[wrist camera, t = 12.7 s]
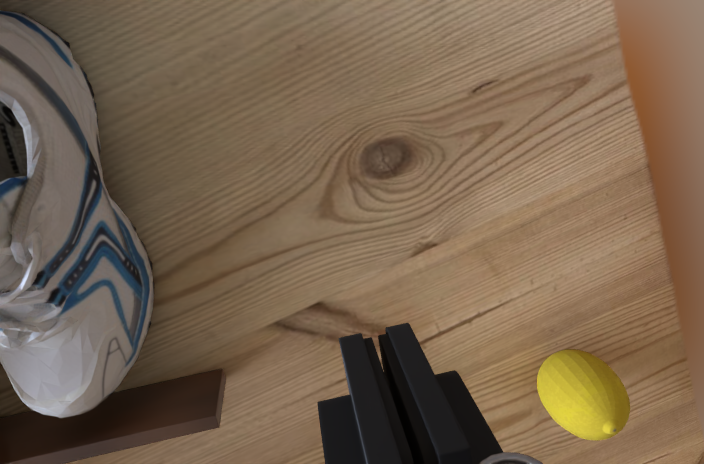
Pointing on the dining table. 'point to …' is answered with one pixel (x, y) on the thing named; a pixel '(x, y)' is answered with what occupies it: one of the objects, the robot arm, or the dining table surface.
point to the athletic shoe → (61, 235)
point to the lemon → (583, 394)
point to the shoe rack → (116, 422)
